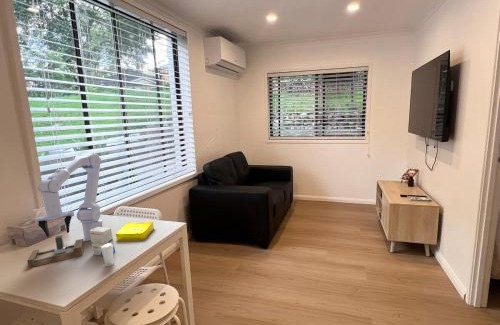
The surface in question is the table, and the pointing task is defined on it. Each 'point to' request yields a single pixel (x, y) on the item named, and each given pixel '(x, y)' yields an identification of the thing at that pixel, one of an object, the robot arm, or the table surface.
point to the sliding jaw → (60, 245)
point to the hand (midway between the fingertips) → (58, 234)
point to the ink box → (100, 239)
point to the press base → (49, 255)
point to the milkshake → (107, 254)
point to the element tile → (134, 231)
